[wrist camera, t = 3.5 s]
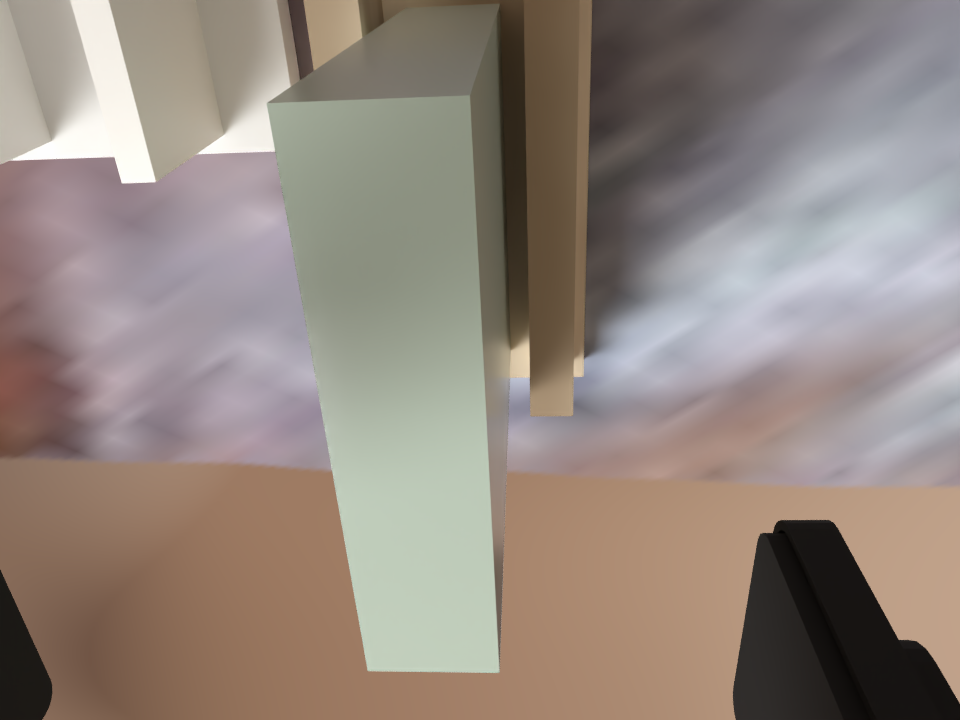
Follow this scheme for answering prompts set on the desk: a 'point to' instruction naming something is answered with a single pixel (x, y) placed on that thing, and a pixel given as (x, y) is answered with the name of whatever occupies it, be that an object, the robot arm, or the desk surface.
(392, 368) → the plate
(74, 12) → the dish rack
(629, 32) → the desk surface
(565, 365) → the plate stand
